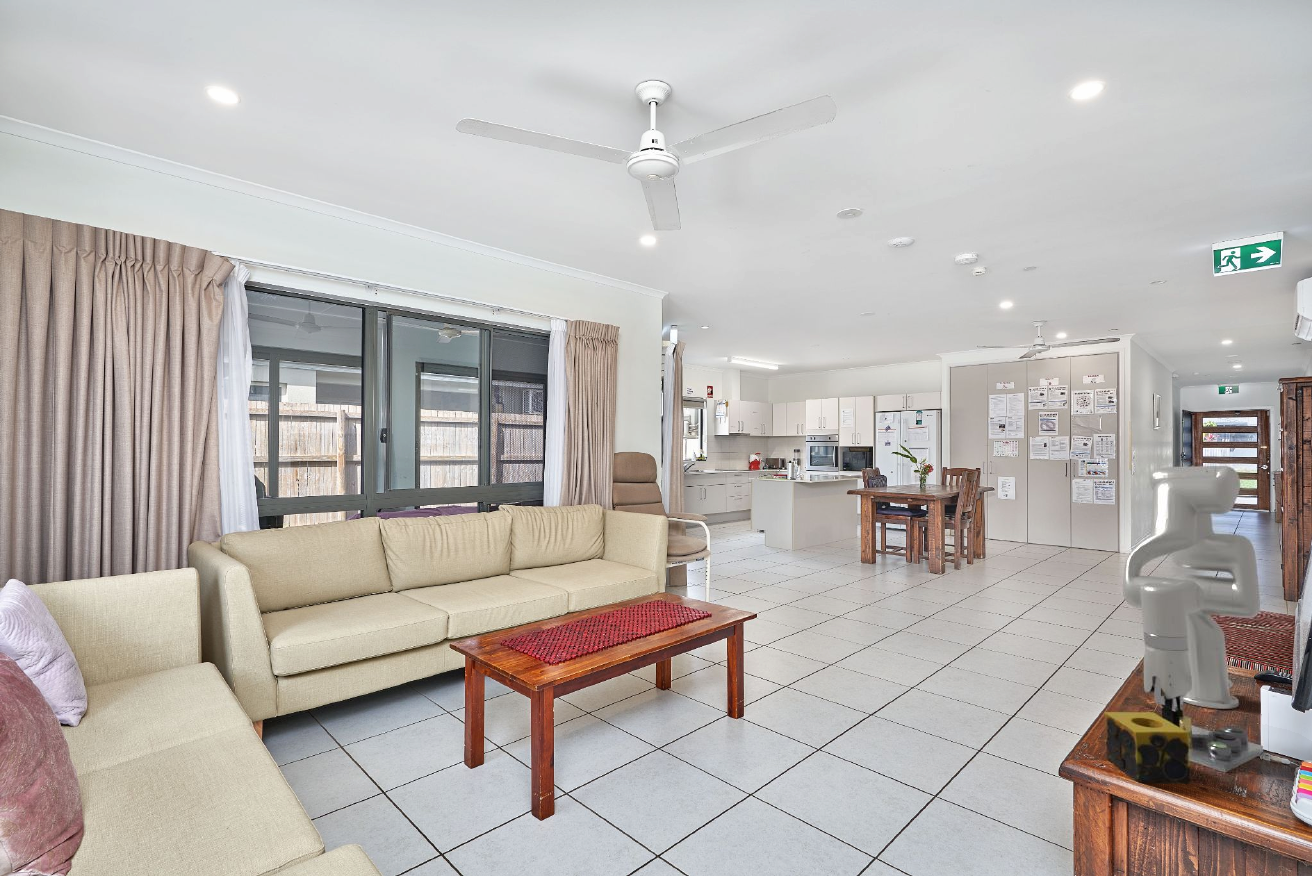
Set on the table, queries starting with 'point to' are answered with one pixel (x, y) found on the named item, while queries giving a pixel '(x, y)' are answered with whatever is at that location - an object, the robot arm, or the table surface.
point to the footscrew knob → (1209, 736)
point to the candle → (1147, 747)
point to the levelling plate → (1222, 765)
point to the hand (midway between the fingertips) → (1173, 726)
